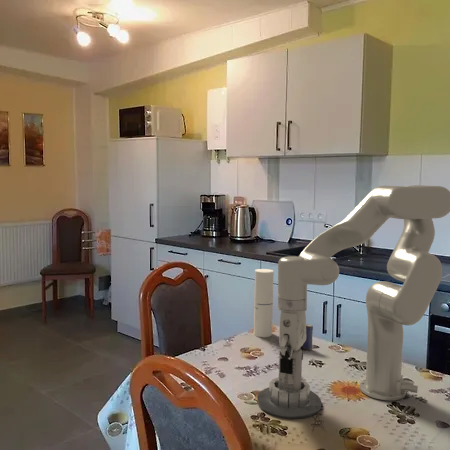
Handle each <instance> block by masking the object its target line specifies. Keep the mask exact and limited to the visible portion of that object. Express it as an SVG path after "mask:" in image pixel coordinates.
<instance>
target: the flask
mask: <svg viewBox="0 0 450 450" xmlns="http://www.w3.org/2000/svg"><path fill="white" fill-rule="evenodd" d="M313 330H314V327H313V324H309V323H306V341H305V342H304V344H303V351H306V352H307V351H308V352H312V350H313V334H314V333H313V332H314V331H313Z"/></svg>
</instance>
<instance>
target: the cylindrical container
mask: <svg viewBox="0 0 450 450" xmlns="http://www.w3.org/2000/svg"><path fill="white" fill-rule="evenodd" d="M274 273H275V271H274V270H273V269H269V268H259V269H258V268H256V269H254V290H253V291H254V294H253V295H254V296H253V298H254V300H253V336H255V337H257V338H269V337H271V336H273V316H274V315H273V310H274V309H273V308H274V307H273V304H274V303H273V302H274V276H275V275H274Z"/></svg>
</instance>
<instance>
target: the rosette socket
mask: <svg viewBox="0 0 450 450" xmlns="http://www.w3.org/2000/svg"><path fill="white" fill-rule="evenodd" d="M310 386H311V385H310V384H309V383H308V382H307V381H306V380H304V379H302V378H301V390H299V391H285V390H281V389H279V376H278V377H276V378H275V377H274V378H273V379H271V380H270V382H269V387H265V388H263V389H262V390H261V391H260V392H258V394H257V397H256V399H257V401H256V402H257V403H256V404H257V406H258V407H259V409H260V410H262V411H263V412H265V413H266V414H268V415H270V416H272V417H277V418H280V419H286V420H301V419H306V418H307V419H308V418H310V417H313V416H315V415H317V414H318V413H320V411H321V409H322V399H321V398H320V396H319V395H318V394H316V393H315V392H314V391H312V390H310V388H311V387H310Z"/></svg>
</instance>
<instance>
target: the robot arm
mask: <svg viewBox="0 0 450 450" xmlns="http://www.w3.org/2000/svg"><path fill="white" fill-rule="evenodd" d="M449 213H450V190H449V189H448V188H446V187H444V186H440V185H421V184H420V185H419V184H418V185H417V184H416V185H408V186H404V185H403V186H402V185H399V186H398V185H378V186H376V187H375V188H373V189H371V190H370V191H369V192H368V193H367V194H366V195H365V196H364V198H363V199H362V200H360V201H359V203H357V205H356V206H355V207H354V208H353V209H352V211H350V212H349V213H348V214H347V215H346V217H345V218H343V220H341V221H340V222H337V224H335V225H333V226H332V227H330V228H328V229H326V230H325V231H323V232H321V233H320V234H318V235H317V236H316V237H315V238H314V239H313V240H311V241H310V242H309V244H307V245H306V246H305V247H304V248H303V250H302V251H301V252H300V254H299V255H298V256H295V255H292V256H291V255H290V256H289V255H288V256H283V257H281V258H280V259H279V260H278V262H277V263H278V264H277V269H278V270H277V283H278V284H277V310H279V311H280V317H279V334H278V335H279V336H278V338H279V339H278V340H279V341H278V342H279V349H280V372H281V373H286V374H292V373H293V359H291V358H292V353H293V349H295V351H297V350H298V349H299V348H301V350H302V361H303V360H304V350H303V344H304V342H305V341H306V324H307V318H306V317H307V316H306V311H307V308H308V307H307V306H308V305H307V304H308V303H307V302H308V300H307V299H308V298H307V297H308V285H313V286H314V285H315V286H328V285H331V284H333V283H334V282H336V281H337V280H338V277H339V275H340V267H339V265H338V263H337V262H336V261H335V260H333V259H332V258H331V257H333V256H334V255H335V254H337V253H338V252H341V251H342V250H346V249H348V248H353V247H357V246H361V245H363V244H365V243H367V242H368V241H369V240H371V238H372V237H373V236H374V235H375V234H376V232H377V231H378V230H379V229H380V228H381V227H382V226H383V225H384V224H385V223H386V222H387V221H388V219H390V218H391V219H398V220H403V229H402V231H401V234H400V236H399V239H398V241H397V243H396V245H395V246H394V248H393V250H392V253H391V254H390V257H389V258H388V261H387V264H386V269H387V270H386V271H387V273H388V275H389V276H390V277H392V279H395V280H397V281H399V282H403V284H402V285H399V284H397V283H394V282H391V281H386V280H383V281H382V280H381V281H377V282H374V283H372V284H371V286H370V287H368V289H367V292H366V295H365V304H366V305H365V307H366V312H367V345H366V346H367V347H366V363H365V364H366V366H365V368H366V369H365V371H366V372H365V379H364V380H361V382H359V390H360V391H361V392H362V393H363V394H364V395H366V396H368V397H370V398H373V399H376V400H380V401H381V400H382V401H388V402H389V401H391V402H393V401H399V400H402V399H404V398H405V397H406V396H407V392H410V393H416V394H418V391H419V390H418V388H419V387H418V386H419V385H415V384H414V382H412V381H406V380H405V379H404V375H402V366H403V347H404V345H403V344H404V326H412V325H415V324H417V323H418V322H419V321H420V320H421V319H423V316H424V315H425V314H426V311H427V310H428V308H429V305H430V304H431V302H432V300H433V298H434V296H435V294H436V292H437V289H438V287H439V286H440V283H441V281H442V279H443V278H442V277H443V266H442V263H441V261H440V259H439V258H438V257H437V256H436V255H434V254H432V253H429V252H430V249H431V247H432V246H433V245H432V244H433V243H434V240H435V236H436V235H435V234H436V230H435V225H434V221H433V220H434V219H441V218H444V217H446V216H447V215H449ZM288 346H291V347H288ZM286 350H290V351H289V353H288V351H286Z"/></svg>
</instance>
